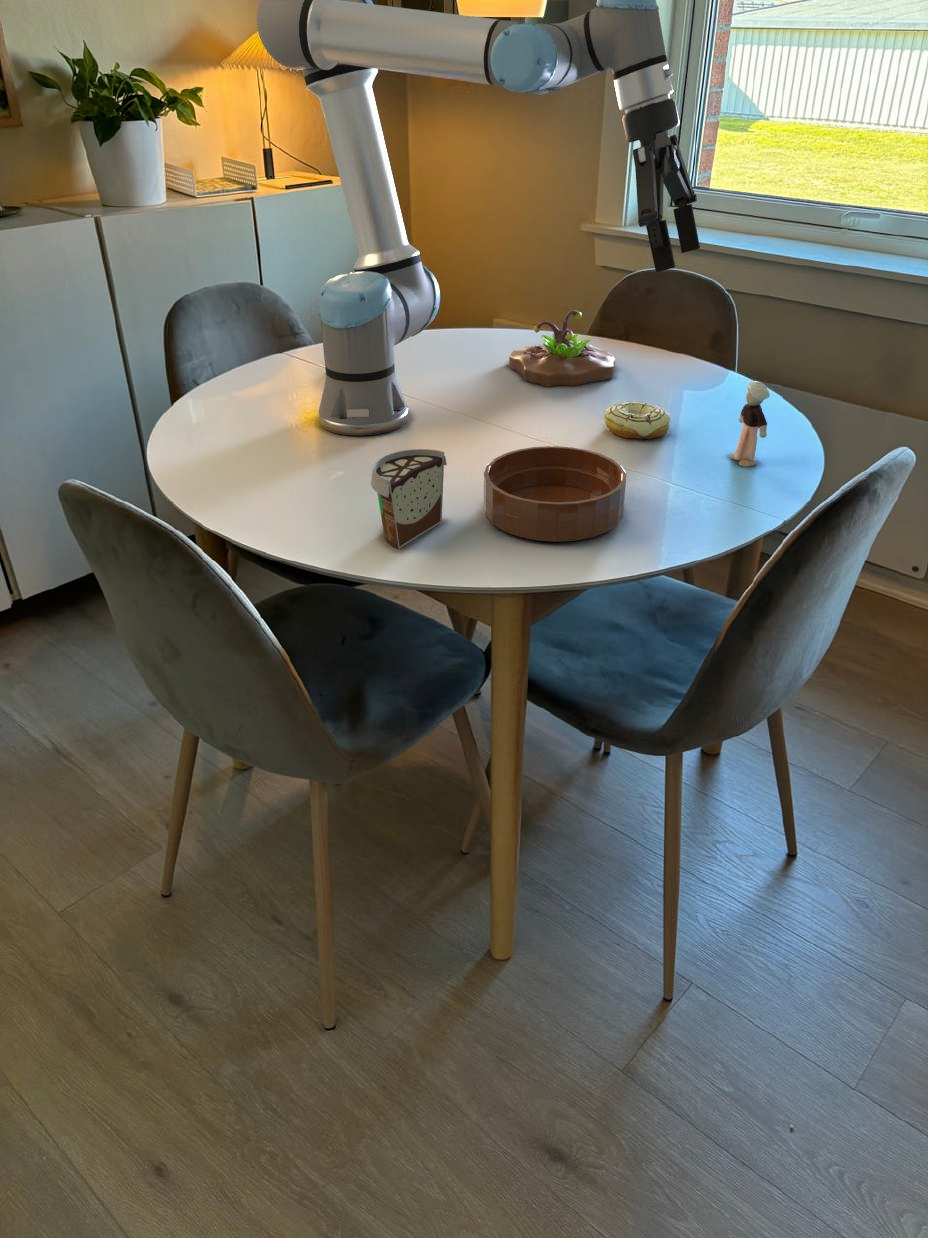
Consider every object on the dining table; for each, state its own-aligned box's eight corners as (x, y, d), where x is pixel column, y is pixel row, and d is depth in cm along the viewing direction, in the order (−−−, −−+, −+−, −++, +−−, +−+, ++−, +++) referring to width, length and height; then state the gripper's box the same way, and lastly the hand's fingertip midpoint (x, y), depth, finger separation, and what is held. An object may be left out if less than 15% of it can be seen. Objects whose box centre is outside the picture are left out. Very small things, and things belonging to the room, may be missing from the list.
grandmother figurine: (719, 455, 146) (731, 376, 139) (739, 451, 147) (752, 372, 141) (750, 473, 140) (764, 391, 133) (771, 469, 141) (786, 387, 135)
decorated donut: (651, 447, 149) (654, 425, 147) (592, 433, 154) (594, 411, 152) (678, 427, 156) (681, 405, 154) (621, 414, 162) (623, 393, 160)
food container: (413, 507, 132) (410, 440, 126) (448, 518, 129) (446, 450, 123) (355, 541, 123) (349, 471, 118) (391, 553, 120) (386, 482, 115)
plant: (631, 379, 177) (636, 319, 171) (534, 390, 173) (536, 329, 167) (590, 350, 194) (593, 294, 188) (500, 359, 189) (501, 303, 183)
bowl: (464, 496, 135) (464, 457, 131) (583, 476, 140) (586, 438, 137) (516, 556, 119) (517, 513, 116) (648, 530, 125) (652, 489, 122)
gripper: (645, 102, 119) (679, 271, 127) (697, 88, 137) (723, 236, 146) (592, 122, 123) (628, 284, 131) (648, 106, 141) (677, 249, 150)
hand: (678, 259), depth 139 cm, fingers open, 13 cm apart
